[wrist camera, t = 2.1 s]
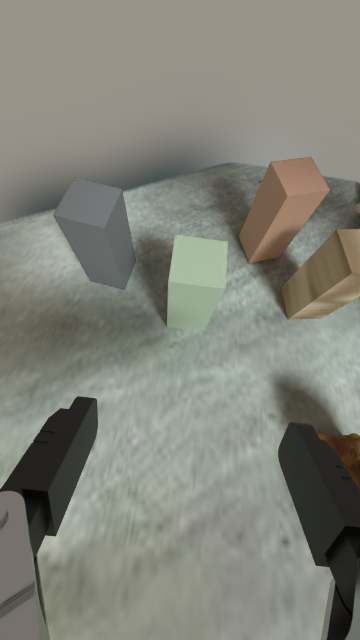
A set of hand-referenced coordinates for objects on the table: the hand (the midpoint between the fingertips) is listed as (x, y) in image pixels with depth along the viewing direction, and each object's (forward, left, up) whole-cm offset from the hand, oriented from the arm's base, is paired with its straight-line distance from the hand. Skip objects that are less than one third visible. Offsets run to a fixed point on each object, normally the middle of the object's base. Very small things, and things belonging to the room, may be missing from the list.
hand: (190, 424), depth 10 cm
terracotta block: (-8, -21, -14) cm, 26 cm away
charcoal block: (+9, -15, -14) cm, 22 cm away
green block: (0, -11, -14) cm, 18 cm away
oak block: (-13, -14, -14) cm, 24 cm away
